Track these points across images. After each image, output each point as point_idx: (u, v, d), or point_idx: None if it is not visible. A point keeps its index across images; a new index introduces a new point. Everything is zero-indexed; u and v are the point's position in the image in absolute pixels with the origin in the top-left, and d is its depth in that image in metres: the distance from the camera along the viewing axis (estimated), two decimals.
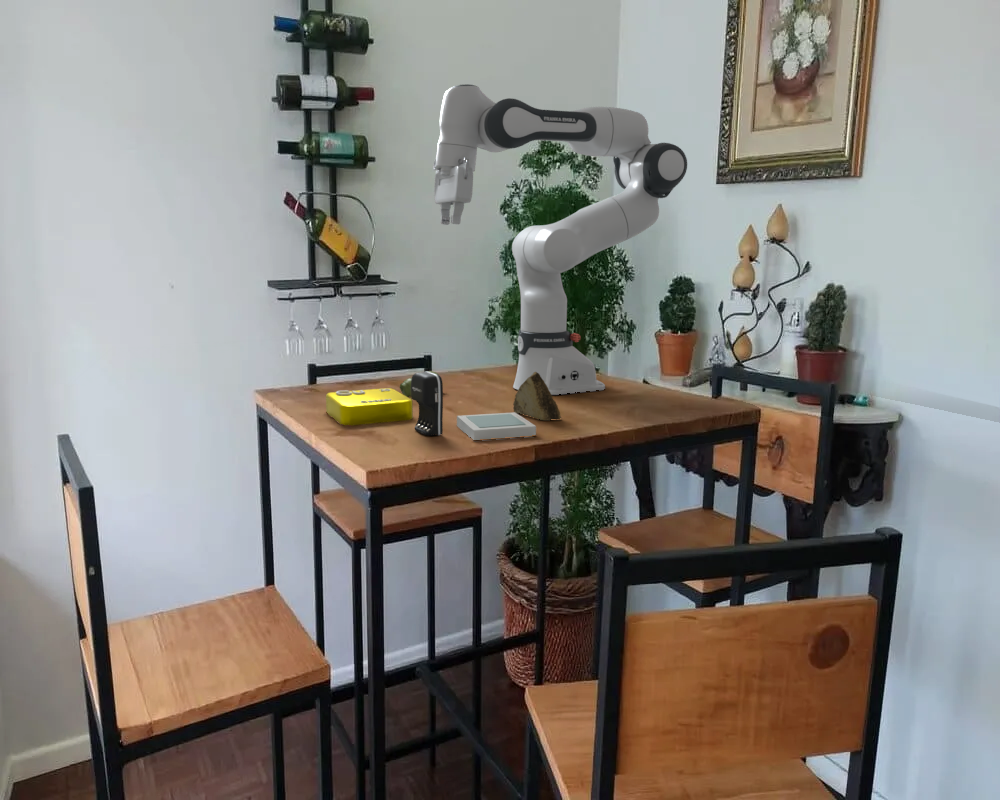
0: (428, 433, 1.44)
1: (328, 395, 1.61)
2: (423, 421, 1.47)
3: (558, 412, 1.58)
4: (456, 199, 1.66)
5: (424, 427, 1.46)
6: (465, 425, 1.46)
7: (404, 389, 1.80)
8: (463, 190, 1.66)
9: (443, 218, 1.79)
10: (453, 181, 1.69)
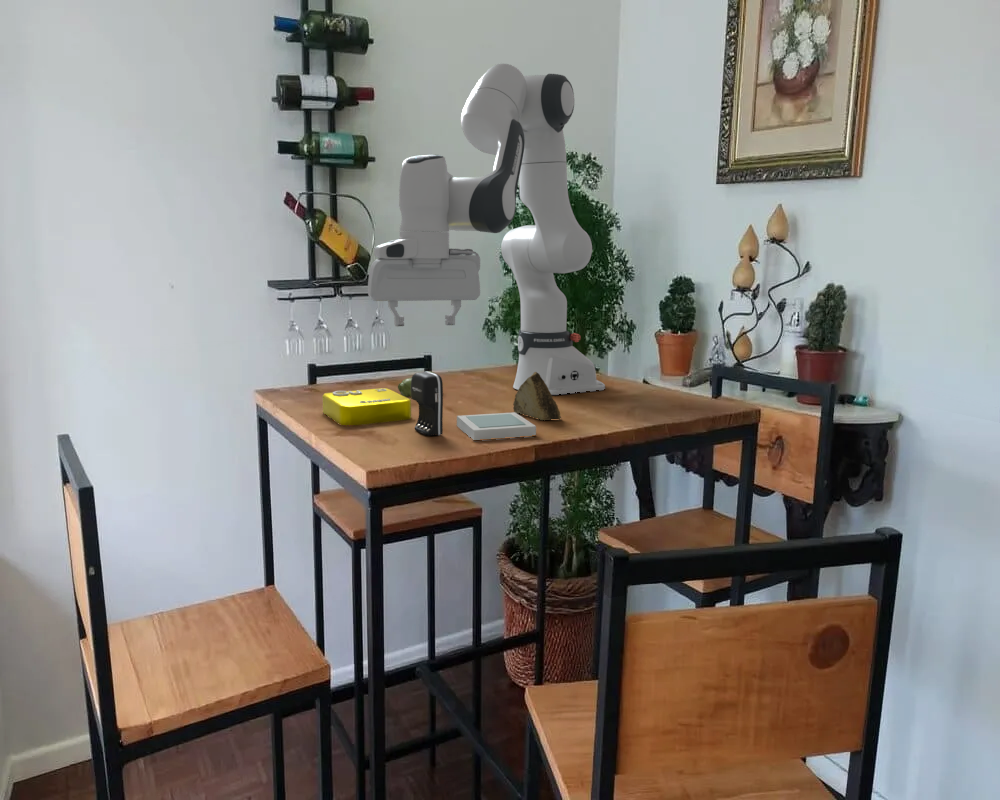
0: (428, 433, 1.44)
1: (325, 396, 1.60)
2: (423, 421, 1.47)
3: (558, 412, 1.58)
4: (476, 298, 1.43)
5: (424, 427, 1.46)
6: (465, 425, 1.46)
7: (402, 389, 1.79)
8: None
9: (403, 319, 1.40)
10: (456, 276, 1.41)
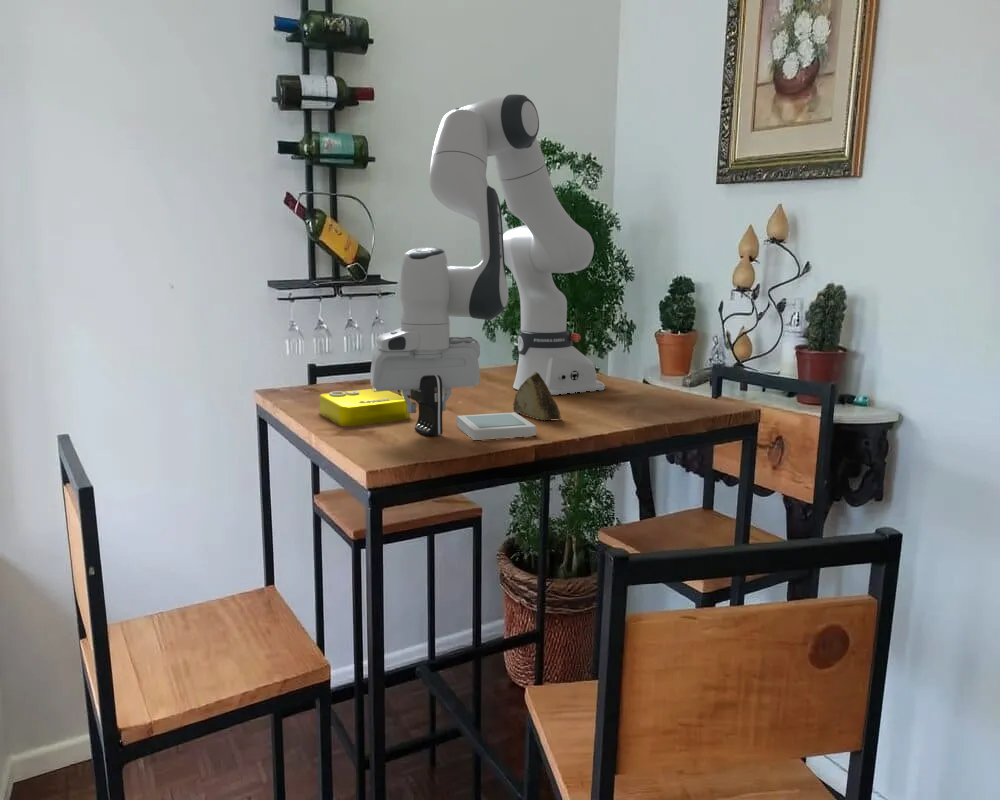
0: (428, 433, 1.44)
1: (322, 396, 1.60)
2: (423, 421, 1.47)
3: (558, 412, 1.58)
4: (476, 384, 1.46)
5: (424, 427, 1.46)
6: (465, 425, 1.46)
7: None
8: None
9: (415, 406, 1.44)
10: (456, 364, 1.44)
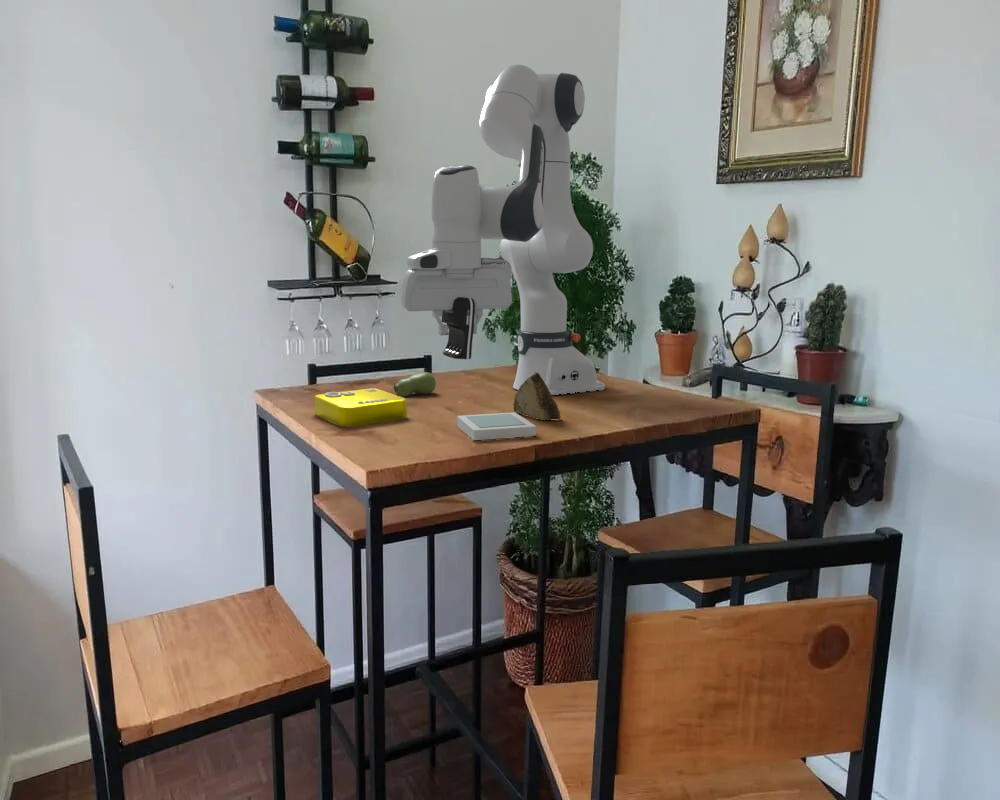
0: (456, 356, 1.42)
1: (318, 397, 1.59)
2: (452, 346, 1.45)
3: (558, 412, 1.58)
4: (508, 306, 1.44)
5: (453, 351, 1.44)
6: (465, 425, 1.46)
7: (397, 390, 1.79)
8: None
9: (447, 328, 1.42)
10: (488, 285, 1.42)
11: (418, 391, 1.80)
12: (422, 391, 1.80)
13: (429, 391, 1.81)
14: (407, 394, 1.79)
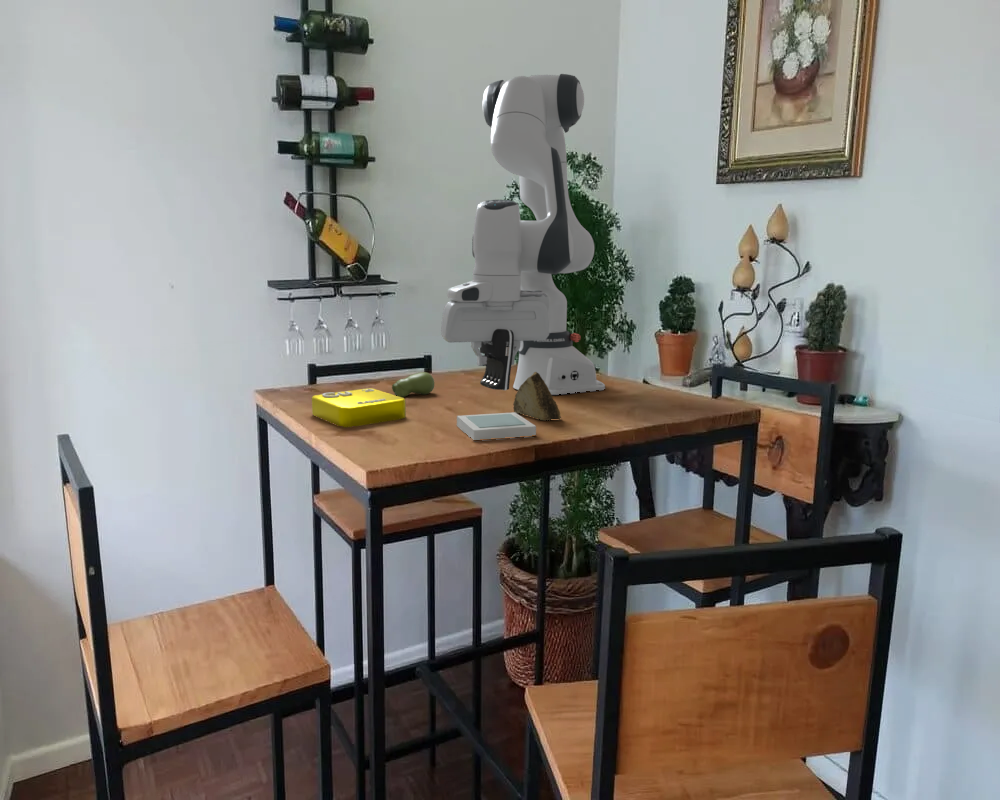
0: (495, 387, 1.43)
1: (315, 398, 1.58)
2: (490, 376, 1.47)
3: (558, 412, 1.58)
4: (545, 338, 1.46)
5: (491, 381, 1.46)
6: (465, 425, 1.46)
7: (396, 390, 1.79)
8: None
9: None
10: (526, 317, 1.44)
11: (416, 391, 1.80)
12: (420, 391, 1.80)
13: (427, 391, 1.81)
14: (405, 394, 1.79)
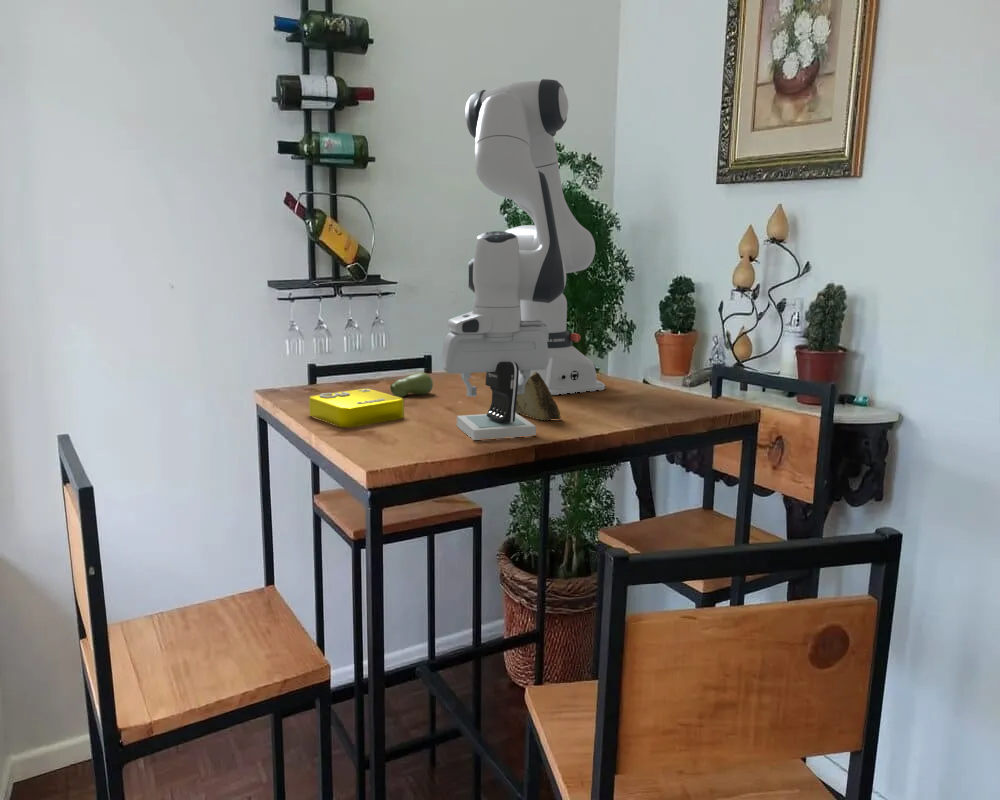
0: (501, 419, 1.44)
1: (313, 398, 1.57)
2: (496, 408, 1.48)
3: (558, 412, 1.58)
4: (545, 368, 1.47)
5: (497, 414, 1.47)
6: (465, 425, 1.46)
7: (394, 390, 1.78)
8: None
9: None
10: (526, 347, 1.45)
11: (414, 391, 1.80)
12: (419, 391, 1.80)
13: (426, 392, 1.80)
14: (403, 394, 1.78)
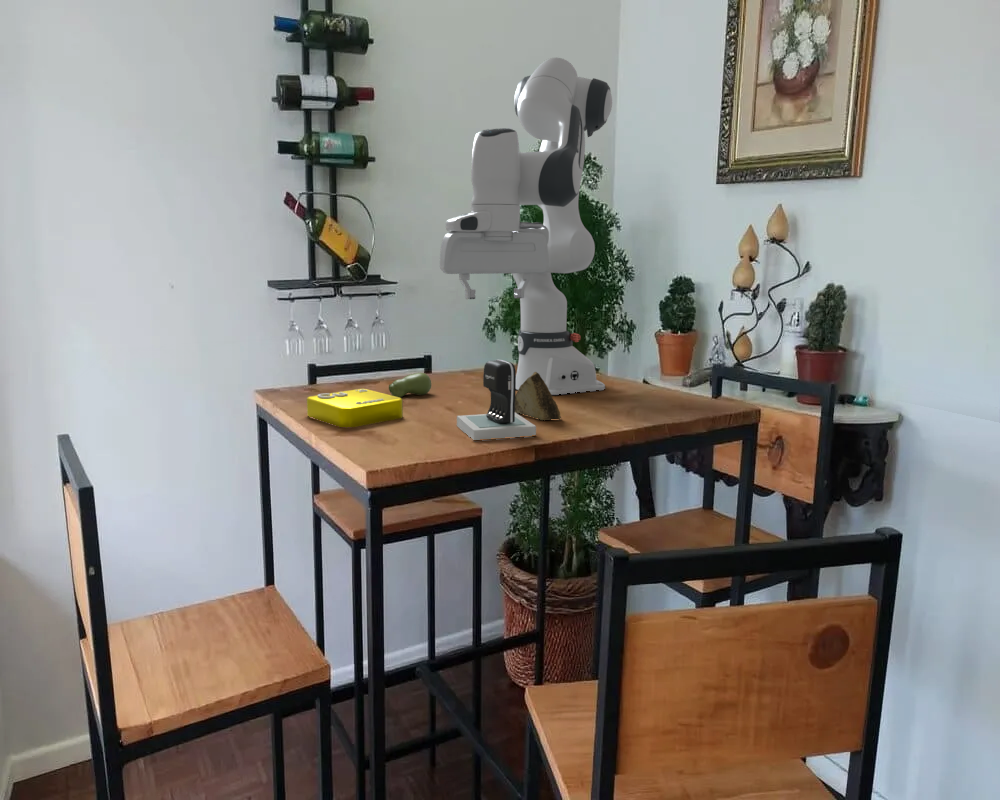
0: (500, 421, 1.45)
1: (311, 399, 1.57)
2: (495, 409, 1.48)
3: (558, 412, 1.58)
4: (545, 271, 1.44)
5: (496, 415, 1.47)
6: (465, 425, 1.46)
7: (392, 390, 1.78)
8: None
9: (474, 292, 1.42)
10: (526, 249, 1.42)
11: (413, 392, 1.79)
12: (417, 392, 1.79)
13: (424, 392, 1.80)
14: (402, 395, 1.78)
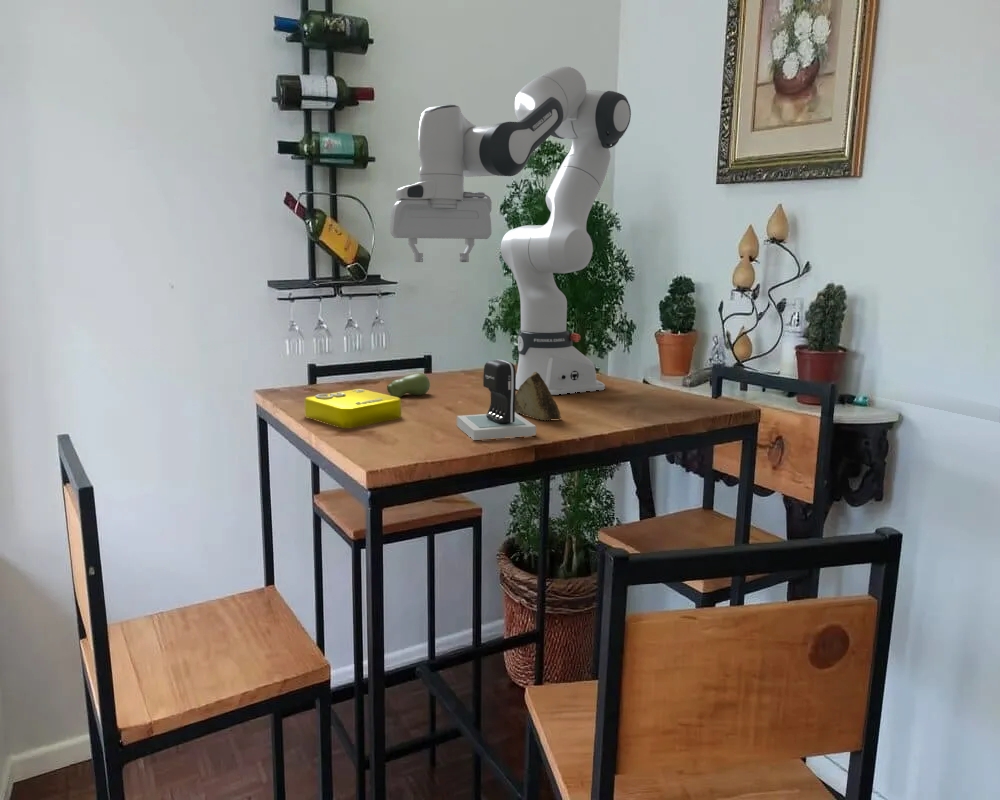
0: (500, 421, 1.45)
1: (310, 400, 1.56)
2: (495, 409, 1.48)
3: (558, 412, 1.58)
4: (488, 237, 1.57)
5: (496, 415, 1.47)
6: (465, 425, 1.46)
7: (390, 390, 1.78)
8: None
9: (422, 255, 1.55)
10: (469, 217, 1.55)
11: (411, 392, 1.79)
12: (415, 392, 1.79)
13: (422, 392, 1.80)
14: (400, 395, 1.78)
